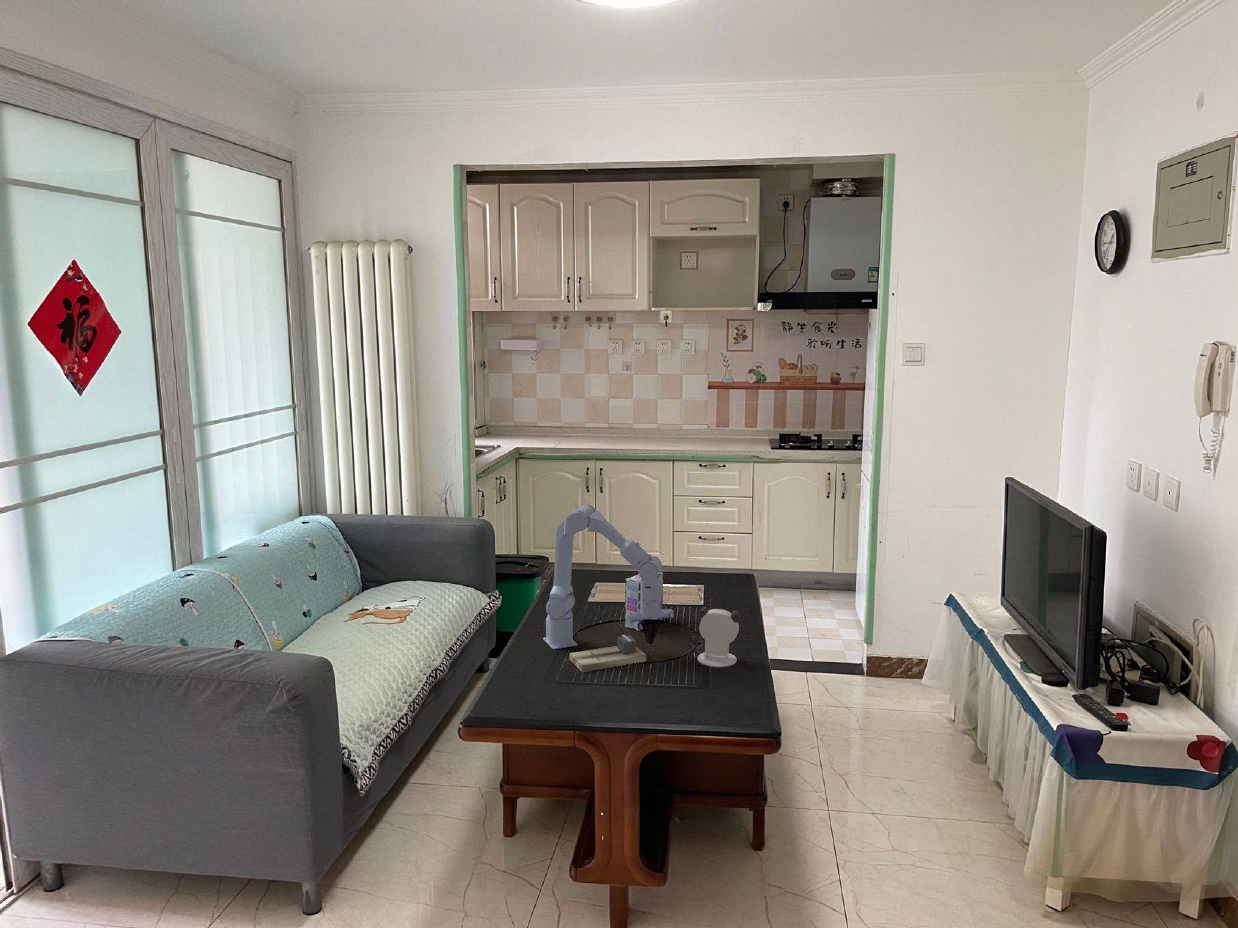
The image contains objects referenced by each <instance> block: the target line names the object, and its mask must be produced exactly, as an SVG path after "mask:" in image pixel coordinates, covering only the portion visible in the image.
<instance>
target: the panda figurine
mask: <svg viewBox="0 0 1238 928" xmlns="http://www.w3.org/2000/svg"><path fill="white" fill-rule="evenodd" d="M698 615H699V617H700V618H701V619H700V623H699V634H700V636H701V637H702V639H704V652H702V653H700V654H698V656H697V661H698V662H699V663H700V664H702V665H704V666H708V667H713V668H726V667H732V666H733V665H735V664H736V663H737V660H738V659H737V657H736V656H735V655H734V654H732V653H729V652H730V647H731V646H732V645H733V642H734V640H735V639H736V638H737V636H738V634H739V631H740V625H739V621H740V620H741V617H742V616H741V612H740V611H739V610H736V609H735V610H733V611H732V612H731V611H728V610H725V609H722V608H720V609H719V608H713V609H708V607H706V606H704V607H701V609H700V611H699V613H698Z"/></svg>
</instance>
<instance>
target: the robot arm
mask: <svg viewBox="0 0 1238 928" xmlns="http://www.w3.org/2000/svg"><path fill="white" fill-rule="evenodd" d="M586 529H587V531H586V532H588V533H599V534H600V535H602V536H603V538H605V539H607V540H608V542H610V543H612V544H613V545H614V546H616V547H617V548H618V549H619V554H620V556H621V557H622V558H623V559H624V560H626V562H627V563H629V564H630V565H631V566H632V567H633V568H635V569H636V570H637V571H638V572H637V573H638V574H639V576H640V577H641V611H640V612H637V613H634V614H631V615H627V622H628V623H629V624H630V623H632V622H638V621H639V622H640V623H641V625H642V628H643V629H642V630H643V632H644V636H645V641H646V643H647V644H649V645H653V644H654V643H655V638H656V635H657V633H658V630H659V628H660V627H661V625H662V620H659V618H664V619H665V618H674V610H673V609H671V608H668V609H663V610H660V575H659V574H660V572H661V573H662V570H663V563H662V561H661V560H660V559H659V558H658V557H657V556H653V555H652V554H651V553H648V552H647V551H646V550H645V549H643V548H642V546H641V543H640V542H639V541H637V542H636V541H635V540H629V539H628V540H627V539H626V538H625V537H624V536H623V534H621V532H619V530H617V528H616V527H615V526H614V525H612V523H610V522H609V521H608V520H607V519H606V518H605V516H604V515H603V513H602V512H601V511H599V510H596V507H594V506H593V505H591V504H583V505H581V506H579V507H577V508H576V509H574V510H572V511H571V512H570V513H568V514H566V515H565V516H564V518H563V520H562V521H561V523H560V524H559V525H558V526H557V528H556V534H555V549H554V550H555V551H554V568H553V569H554V570H553V586H552V587H551V591H550V593H549V599H548V601H547V603H546V605H545V611H546V613H547V616H546V619H545V637H542V640H543V641H544V642H545V643H546V644H547V645H548V646H549V647H550V648H551V649H552V650H557V649H563V648H564V649H565V648H570V647H577V646H578V643H577V642H576V641H574V640H573V639H574V638H573V637H574V636H573V632H574V631H573V630H574V629H573V627H574V626H573V624H574V623H573V620H574V619H573V618H574V617H573V611H572V609H573V608H574V606H575V603H576V598H575V596H574V594H573V593H574V591H573V590H574V588H573V586H572V584H571V583H572V566H573V551H574V549H573V548H574V536H575V535H576V534H577V533H579V532H583V531H584V530H586Z"/></svg>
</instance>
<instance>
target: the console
mask: <svg viewBox="0 0 1238 928" xmlns="http://www.w3.org/2000/svg"><path fill="white" fill-rule="evenodd" d="M569 661H571V662H572V663H573V665H574V666H576V668H577V669H578V670H579V671H580V672H581V673H586V672H592V671H599V670H603V669H604V670H605V669H609V668H615V667H614V666H616V667H621V666H627V665H626V664H628V665H633V663H634V664H639V662H640V663H644V662H645V661H646V662H647V654H646V653H645V652H643V651H642V650H641V649H640V648H639V647H637V646H636V651H635V652H629V653H623V652H622V651H621V650H619V649H618V648H617V645H612V646H607V647H599V648H594V649H587V650H582V651H576V652H570V653H569Z"/></svg>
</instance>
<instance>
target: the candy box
mask: <svg viewBox="0 0 1238 928" xmlns="http://www.w3.org/2000/svg"><path fill="white" fill-rule="evenodd" d="M659 575H660V610H664V606H663V603H664V601H663V600H664V595H663V593H664V572H662V571H661V572H660V574H659ZM624 581H625V585H624V586H625V587H624V588H625V590H624V595H625V596H624V599H625V600H624V628H627V629H629V630H630V629H631V630H634V631H638V632H639V631H641V630H643V628H642V625H641V623H640V622H639V621H638V622H632V623H630V624H629V623H628V622H627V615H631V614H634V613H637V612H640V611H641V577H640V576H639V573H638V574H636V575H632V576H631V577H628V578H625V580H624ZM659 620H661V621H663V618H659Z"/></svg>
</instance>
